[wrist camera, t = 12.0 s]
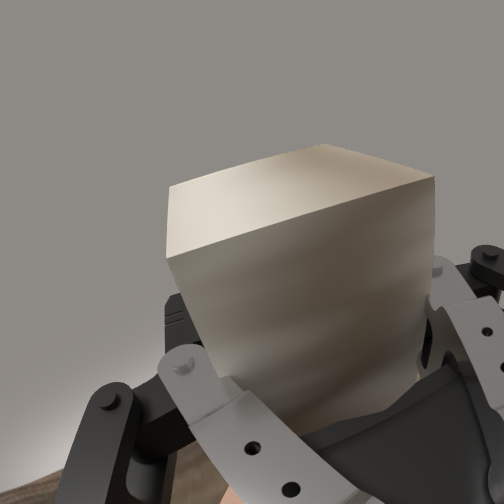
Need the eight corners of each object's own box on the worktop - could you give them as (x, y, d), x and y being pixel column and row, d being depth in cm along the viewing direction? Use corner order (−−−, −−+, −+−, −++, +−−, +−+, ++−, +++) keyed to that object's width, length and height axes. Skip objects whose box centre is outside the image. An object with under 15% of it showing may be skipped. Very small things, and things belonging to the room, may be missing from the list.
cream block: (279, 489, 9) (166, 258, 5) (248, 397, 14) (169, 186, 9) (400, 437, 10) (434, 175, 5) (348, 360, 14) (324, 143, 10)
